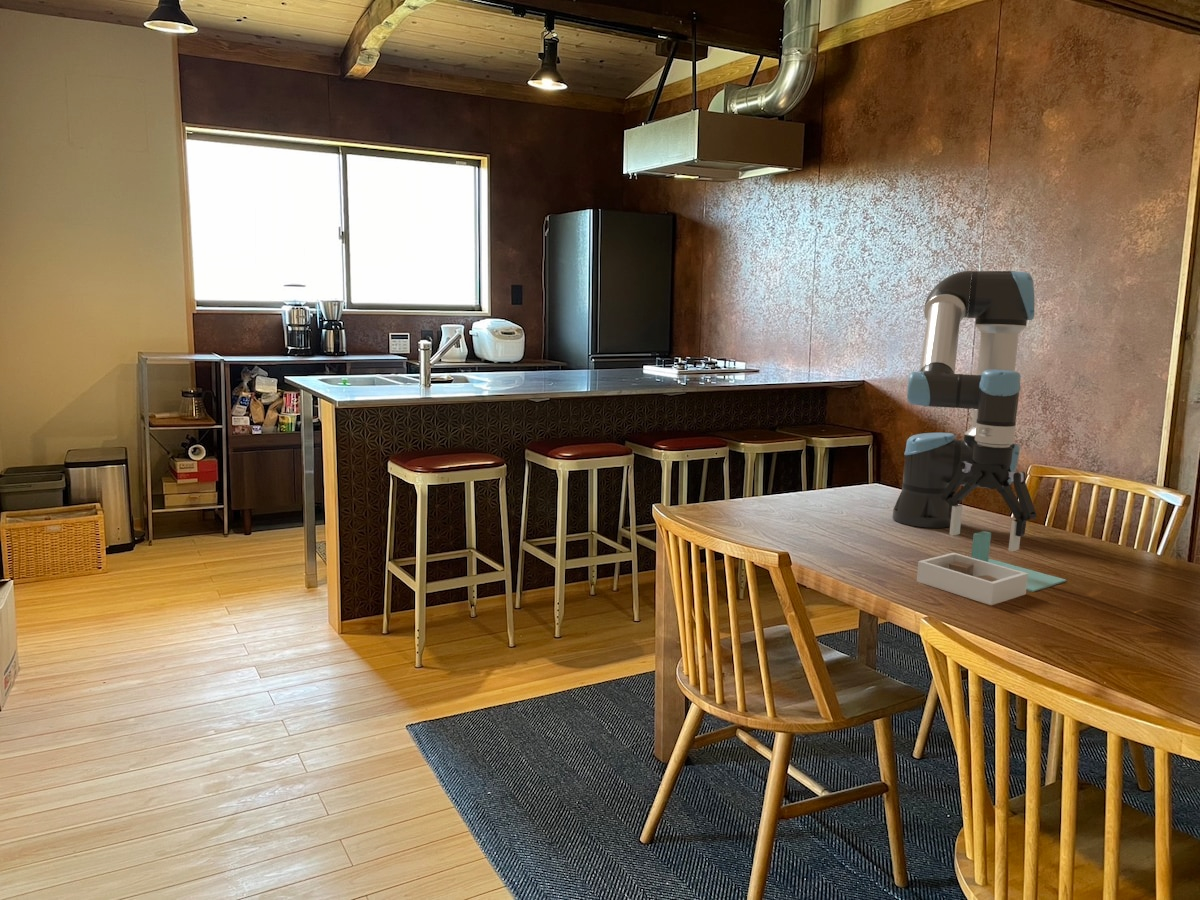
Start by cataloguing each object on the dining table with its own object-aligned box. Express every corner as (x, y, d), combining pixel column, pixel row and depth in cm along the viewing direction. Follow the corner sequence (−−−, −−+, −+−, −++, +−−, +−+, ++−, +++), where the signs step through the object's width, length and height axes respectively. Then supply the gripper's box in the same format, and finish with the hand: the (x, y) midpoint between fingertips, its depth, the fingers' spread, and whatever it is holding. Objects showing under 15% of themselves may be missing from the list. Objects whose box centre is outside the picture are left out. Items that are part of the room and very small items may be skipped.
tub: (951, 575, 180) (953, 552, 180) (1025, 598, 168) (1028, 573, 167) (916, 585, 174) (918, 561, 173) (990, 609, 161) (993, 583, 160)
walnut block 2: (986, 592, 168) (988, 575, 167) (999, 598, 165) (1001, 580, 164) (971, 593, 167) (973, 576, 166) (985, 599, 163) (987, 582, 163)
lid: (989, 564, 190) (993, 527, 188) (1065, 586, 176) (1070, 546, 175) (955, 574, 183) (959, 535, 181) (1032, 597, 169) (1037, 555, 168)
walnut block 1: (954, 576, 177) (956, 560, 176) (971, 581, 175) (973, 564, 174) (947, 580, 175) (949, 563, 174) (964, 584, 172) (966, 567, 171)
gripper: (930, 436, 188) (921, 530, 192) (1042, 455, 168) (1030, 560, 172) (950, 434, 192) (941, 526, 196) (1062, 452, 172) (1050, 554, 176)
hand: (983, 542), depth 184 cm, fingers open, 13 cm apart
